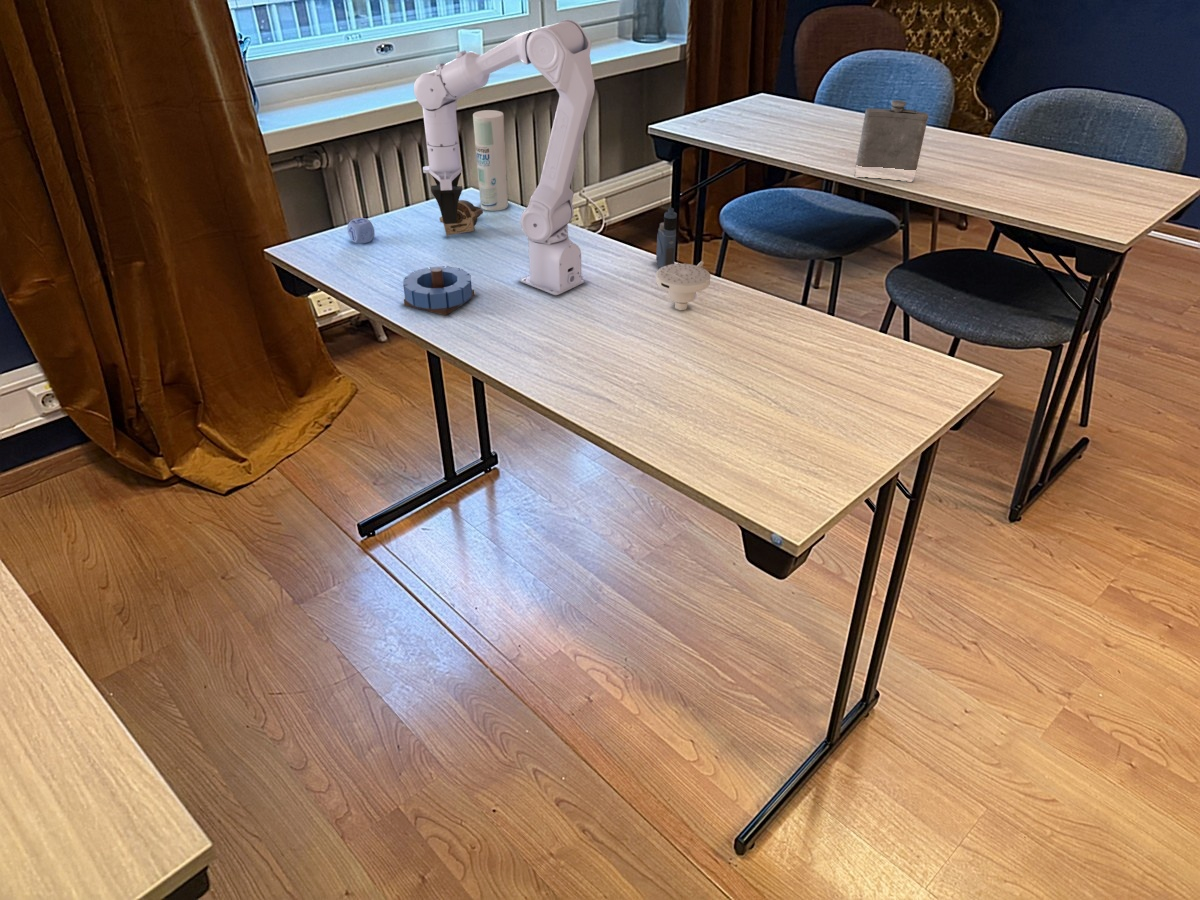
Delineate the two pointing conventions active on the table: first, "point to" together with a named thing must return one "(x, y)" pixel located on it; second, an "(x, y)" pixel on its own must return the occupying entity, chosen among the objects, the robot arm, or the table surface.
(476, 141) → the spray can
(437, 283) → the brown peg stand
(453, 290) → the ring
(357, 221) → the decorative dice
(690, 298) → the showerhead
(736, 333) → the table surface
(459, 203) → the mechanical counter
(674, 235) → the vaping device
